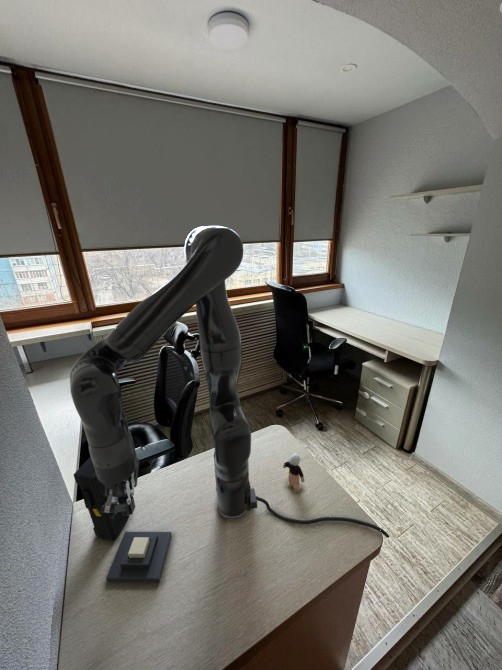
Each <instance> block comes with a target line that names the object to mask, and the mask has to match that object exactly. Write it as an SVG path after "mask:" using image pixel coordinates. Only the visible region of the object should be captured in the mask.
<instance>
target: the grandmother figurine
mask: <svg viewBox="0 0 502 670" xmlns="http://www.w3.org/2000/svg"><path fill="white" fill-rule="evenodd" d="M300 461H301V456H300V455H299V454H298V453H292V454H291V455H290V456H289V457H288V460H287V461H285V462H284V463H283V464H282V468H283V469H286V468H288V476H287V477H288V482H287V485H286V486H287V488H288V489H292V488H293V492H294V493H299V492H301V491H302V490H303V487H302V486H301V485H300V481H301V483H305V476H304V472H303V471H302V468H301V467H300V465H299V464H300V463H301V462H300Z"/></svg>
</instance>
